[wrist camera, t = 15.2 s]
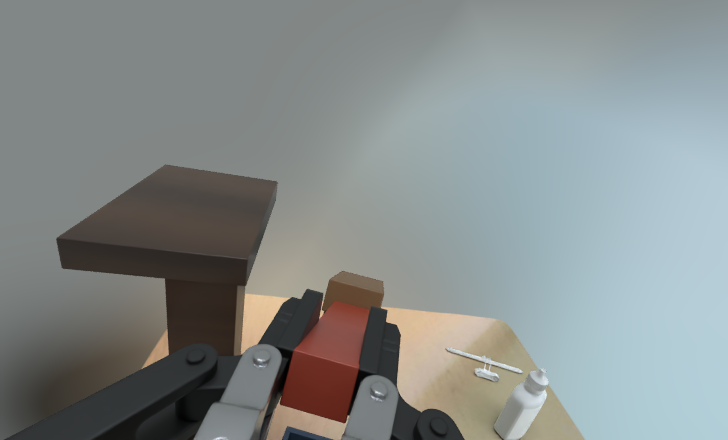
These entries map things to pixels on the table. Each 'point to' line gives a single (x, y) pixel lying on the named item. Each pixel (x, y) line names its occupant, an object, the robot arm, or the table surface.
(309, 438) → the tray
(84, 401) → the robot arm
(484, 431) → the table surface
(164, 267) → the shelf stand
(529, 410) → the eye dropper bottle
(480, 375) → the picture light
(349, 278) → the brush
